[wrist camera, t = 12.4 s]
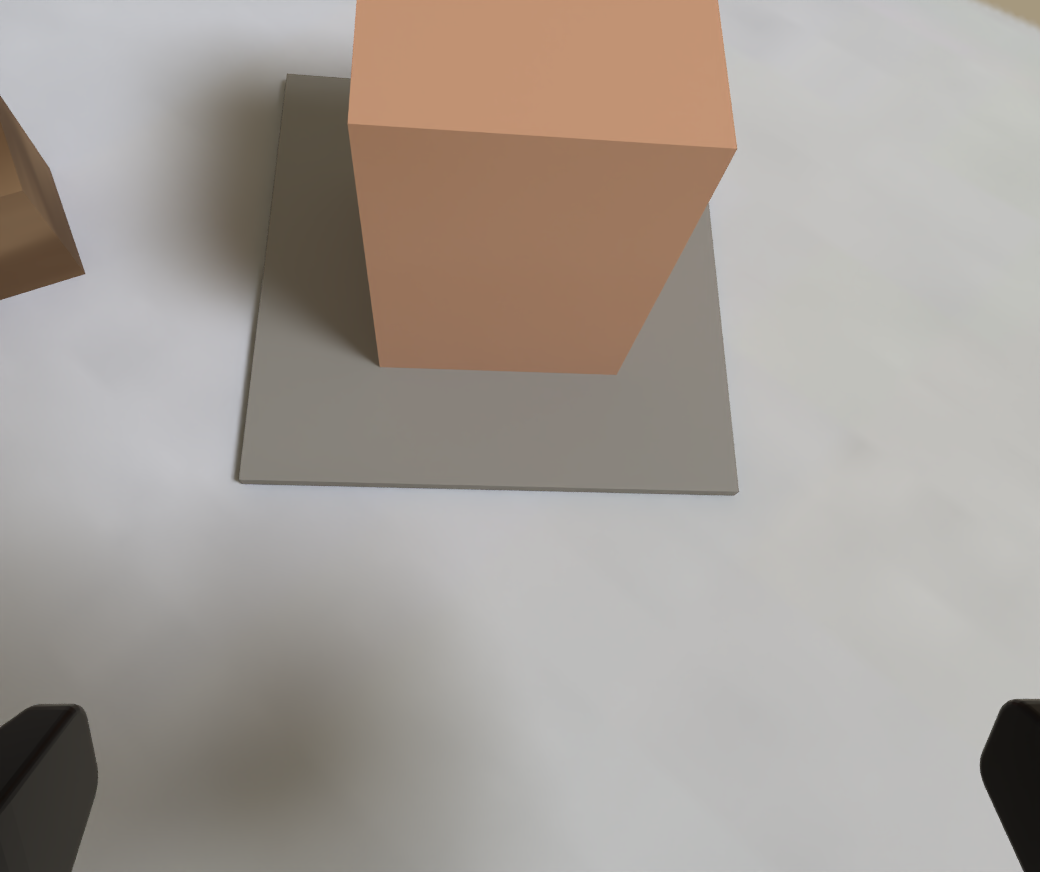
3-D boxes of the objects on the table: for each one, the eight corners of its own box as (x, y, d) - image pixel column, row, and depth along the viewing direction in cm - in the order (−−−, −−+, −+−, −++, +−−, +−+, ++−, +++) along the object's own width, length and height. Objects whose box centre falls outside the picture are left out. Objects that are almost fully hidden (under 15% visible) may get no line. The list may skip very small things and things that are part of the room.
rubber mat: (733, 495, 23) (738, 491, 23) (241, 483, 22) (238, 479, 22) (694, 113, 28) (698, 104, 28) (289, 83, 27) (286, 73, 26)
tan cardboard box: (616, 374, 24) (737, 148, 15) (379, 367, 23) (347, 123, 14) (605, 180, 26) (701, -120, 17) (390, 168, 26) (368, -154, 16)
